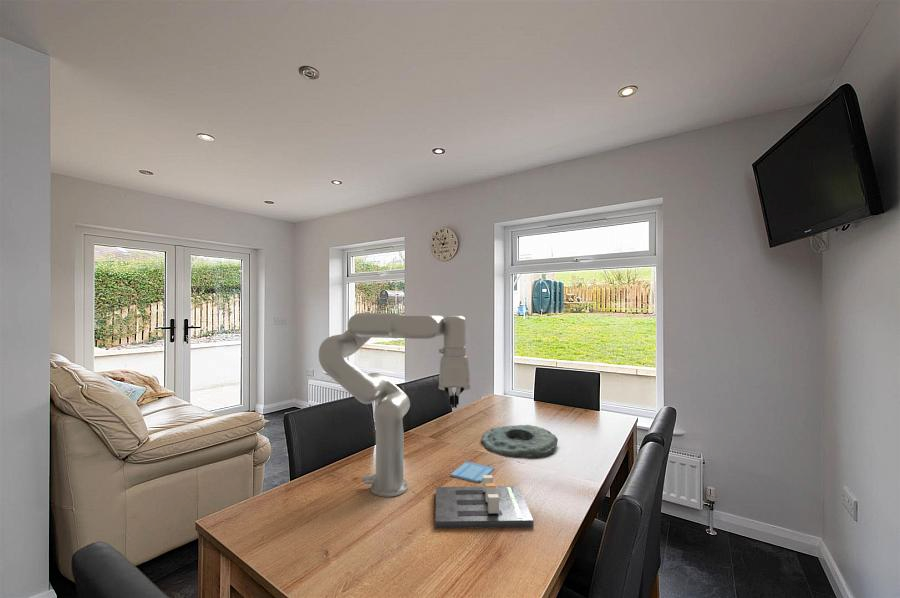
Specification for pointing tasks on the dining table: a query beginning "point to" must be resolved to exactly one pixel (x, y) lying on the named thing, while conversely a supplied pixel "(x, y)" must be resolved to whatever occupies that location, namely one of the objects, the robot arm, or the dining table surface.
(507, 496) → the panel
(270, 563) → the dining table surface
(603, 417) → the dining table surface
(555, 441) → the stone ring
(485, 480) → the block
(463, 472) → the light blue flat plate
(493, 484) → the block
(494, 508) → the block
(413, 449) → the dining table surface
